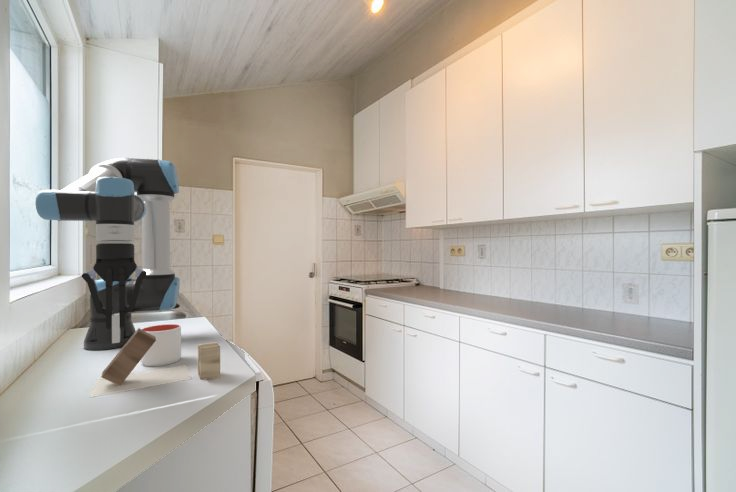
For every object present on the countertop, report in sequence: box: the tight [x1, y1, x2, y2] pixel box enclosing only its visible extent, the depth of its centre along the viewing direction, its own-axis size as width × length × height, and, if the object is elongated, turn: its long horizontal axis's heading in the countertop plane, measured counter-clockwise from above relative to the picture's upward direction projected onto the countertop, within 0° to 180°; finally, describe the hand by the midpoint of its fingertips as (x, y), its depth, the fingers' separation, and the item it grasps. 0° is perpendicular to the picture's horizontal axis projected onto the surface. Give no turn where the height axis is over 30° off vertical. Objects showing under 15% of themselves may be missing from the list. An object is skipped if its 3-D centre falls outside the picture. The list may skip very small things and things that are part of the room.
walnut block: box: [100, 327, 156, 386], centre depth 88 cm, size 4×4×12 cm
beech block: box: [197, 341, 221, 381], centre depth 92 cm, size 4×4×8 cm
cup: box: [140, 323, 182, 368], centre depth 104 cm, size 10×10×10 cm
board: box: [89, 364, 193, 398], centre depth 89 cm, size 13×20×1 cm, turn 122°
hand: (116, 341), depth 86 cm, fingers closed
